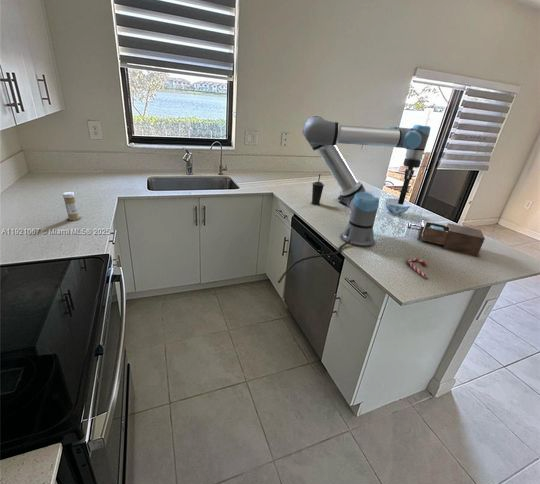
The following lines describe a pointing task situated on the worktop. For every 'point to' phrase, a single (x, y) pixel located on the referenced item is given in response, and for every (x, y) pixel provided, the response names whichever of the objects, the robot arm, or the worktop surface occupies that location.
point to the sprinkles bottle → (70, 205)
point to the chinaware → (396, 206)
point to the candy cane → (415, 267)
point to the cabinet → (464, 239)
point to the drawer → (431, 232)
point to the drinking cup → (317, 192)
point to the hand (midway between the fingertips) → (400, 203)
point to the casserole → (341, 199)
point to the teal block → (436, 227)
